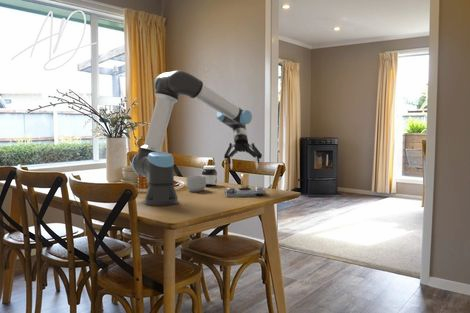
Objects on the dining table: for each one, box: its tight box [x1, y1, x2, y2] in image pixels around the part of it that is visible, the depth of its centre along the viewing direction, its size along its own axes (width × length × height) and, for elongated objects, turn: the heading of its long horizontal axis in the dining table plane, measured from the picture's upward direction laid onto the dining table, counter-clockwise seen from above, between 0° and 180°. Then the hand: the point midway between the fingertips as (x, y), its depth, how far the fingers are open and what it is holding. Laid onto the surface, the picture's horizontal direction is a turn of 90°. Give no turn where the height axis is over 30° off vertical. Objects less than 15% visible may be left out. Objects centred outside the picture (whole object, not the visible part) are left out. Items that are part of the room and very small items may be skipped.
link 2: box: [233, 186, 267, 196], centre depth 213 cm, size 15×10×4 cm, turn 98°
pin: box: [240, 172, 250, 190], centre depth 212 cm, size 4×4×11 cm
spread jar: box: [201, 165, 218, 188], centre depth 242 cm, size 12×11×12 cm
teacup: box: [185, 174, 207, 193], centre depth 226 cm, size 14×11×8 cm
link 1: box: [224, 187, 257, 198], centre depth 212 cm, size 15×10×4 cm, turn 98°
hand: (244, 167), depth 216 cm, fingers open, 13 cm apart
